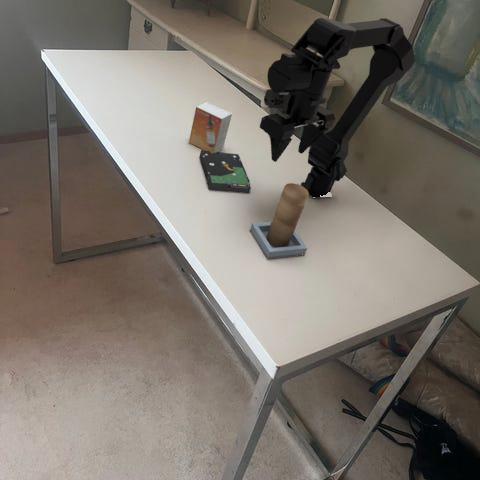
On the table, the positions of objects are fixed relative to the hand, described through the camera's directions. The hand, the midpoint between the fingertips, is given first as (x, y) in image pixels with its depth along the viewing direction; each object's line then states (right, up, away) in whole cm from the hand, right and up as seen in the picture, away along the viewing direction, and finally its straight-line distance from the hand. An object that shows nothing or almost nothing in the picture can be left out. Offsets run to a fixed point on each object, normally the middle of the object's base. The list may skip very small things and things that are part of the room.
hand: (287, 156), depth 101 cm
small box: (-20, +7, +22) cm, 30 cm away
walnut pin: (-3, -19, -4) cm, 19 cm away
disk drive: (-15, -3, +13) cm, 20 cm away
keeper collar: (-3, -19, -3) cm, 19 cm away
